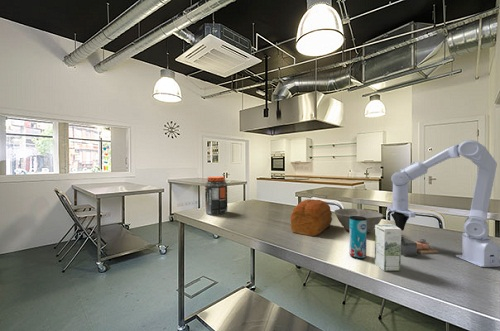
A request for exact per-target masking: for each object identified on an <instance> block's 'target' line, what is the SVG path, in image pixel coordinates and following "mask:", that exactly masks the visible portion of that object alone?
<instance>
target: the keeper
mask: <svg viewBox="0 0 500 331" xmlns="http://www.w3.org/2000/svg"><path fill="white" fill-rule="evenodd" d="M401 256H404V257H417V256H418V252H417V243H416V242H414V241H413V240H412V239H409V238H406V237H405V236H401Z"/></svg>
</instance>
